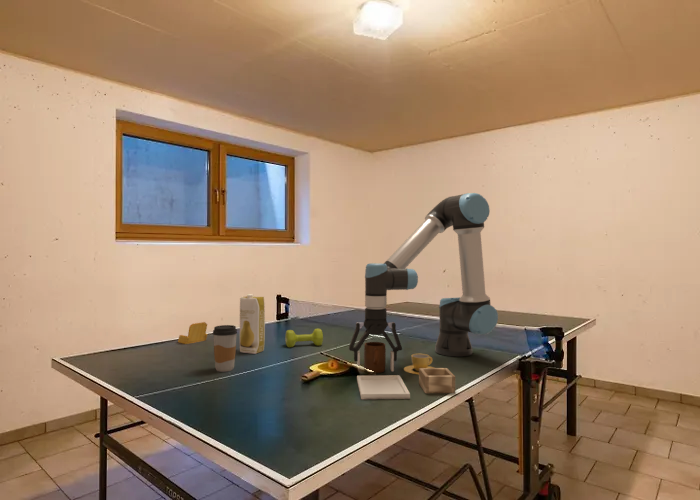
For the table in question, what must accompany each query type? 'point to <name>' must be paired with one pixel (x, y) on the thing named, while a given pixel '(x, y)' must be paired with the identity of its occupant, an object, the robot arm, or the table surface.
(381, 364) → the mug
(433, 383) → the oak box
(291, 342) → the dumbbell
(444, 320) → the robot arm
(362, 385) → the tray
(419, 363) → the cup
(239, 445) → the table surface
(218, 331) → the coffee cup
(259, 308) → the juice carton
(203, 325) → the yellow stepped piece
